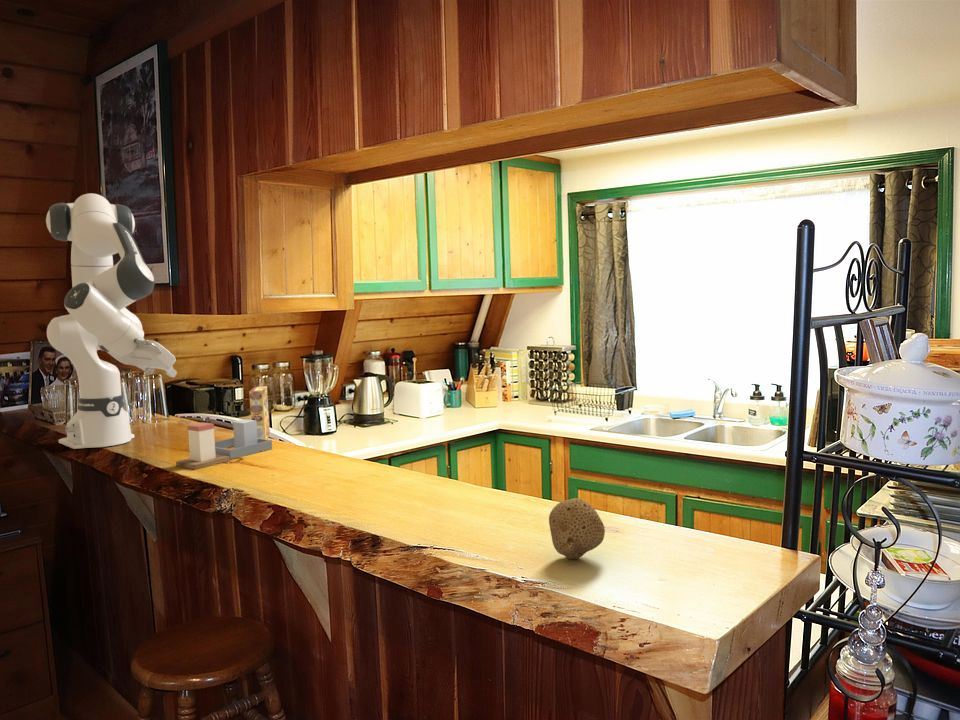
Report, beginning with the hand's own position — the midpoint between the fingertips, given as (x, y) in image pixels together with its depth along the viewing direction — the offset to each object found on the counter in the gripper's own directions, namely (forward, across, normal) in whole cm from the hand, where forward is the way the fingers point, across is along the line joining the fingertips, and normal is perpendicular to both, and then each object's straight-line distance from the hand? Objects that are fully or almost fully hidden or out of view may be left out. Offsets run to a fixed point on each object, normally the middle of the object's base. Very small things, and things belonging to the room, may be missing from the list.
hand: (162, 373), depth 196 cm
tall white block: (+34, -2, +1) cm, 34 cm away
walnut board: (+21, -6, +12) cm, 25 cm away
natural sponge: (+10, -121, +18) cm, 123 cm away
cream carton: (+21, -6, +12) cm, 24 cm away
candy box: (+43, +6, -7) cm, 44 cm away
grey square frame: (+31, -2, +3) cm, 31 cm away
